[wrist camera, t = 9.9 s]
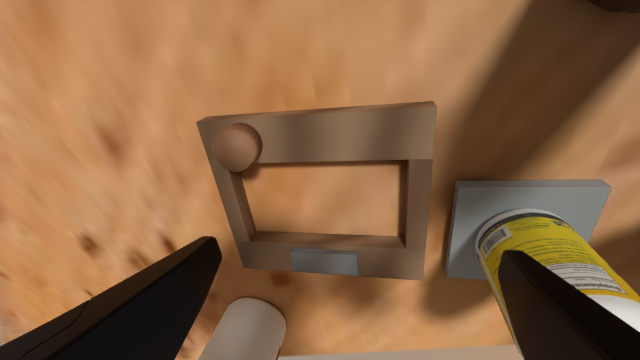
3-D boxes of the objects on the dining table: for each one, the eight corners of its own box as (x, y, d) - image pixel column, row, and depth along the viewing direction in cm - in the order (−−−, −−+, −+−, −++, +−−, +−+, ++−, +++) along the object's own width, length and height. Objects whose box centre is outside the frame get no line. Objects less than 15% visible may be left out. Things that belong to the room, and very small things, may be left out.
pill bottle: (559, 269, 21) (705, 465, 12) (471, 269, 23) (535, 440, 13) (577, 201, 18) (787, 384, 9) (475, 206, 20) (560, 366, 11)
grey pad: (601, 179, 18) (612, 187, 18) (562, 276, 23) (569, 285, 22) (455, 180, 20) (458, 187, 20) (444, 269, 25) (446, 277, 24)
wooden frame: (433, 101, 18) (443, 115, 15) (420, 267, 25) (426, 300, 22) (207, 116, 22) (179, 130, 19) (250, 257, 29) (234, 283, 26)
